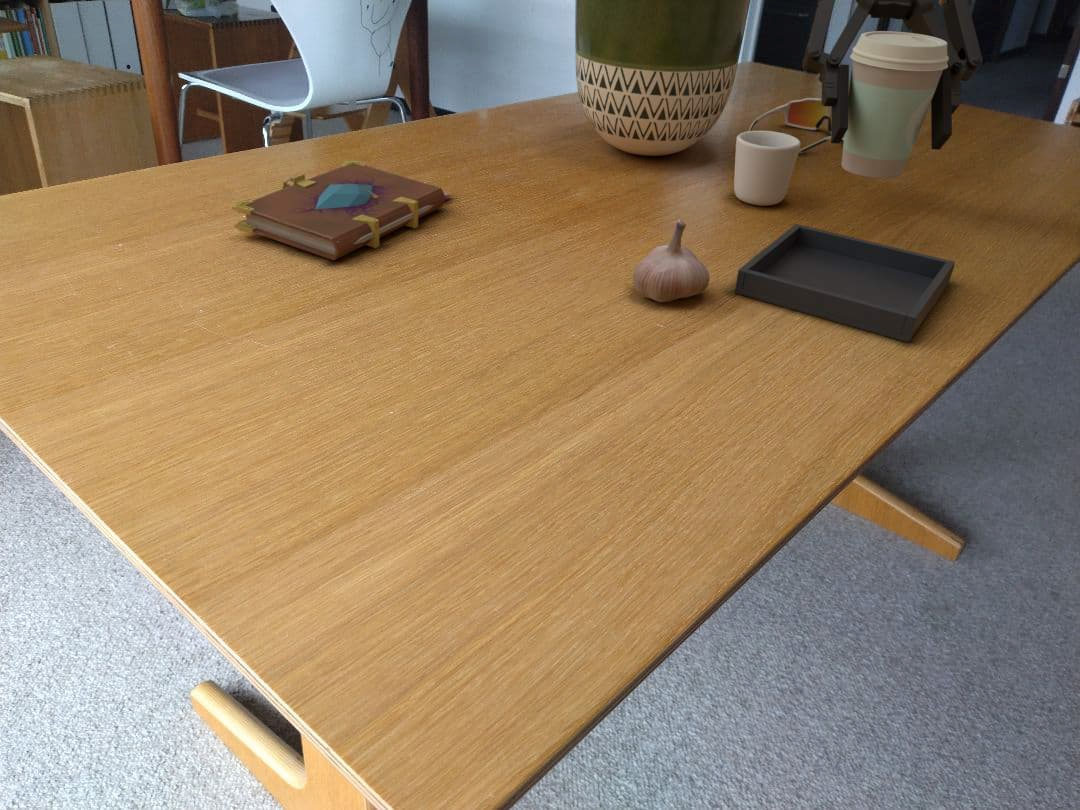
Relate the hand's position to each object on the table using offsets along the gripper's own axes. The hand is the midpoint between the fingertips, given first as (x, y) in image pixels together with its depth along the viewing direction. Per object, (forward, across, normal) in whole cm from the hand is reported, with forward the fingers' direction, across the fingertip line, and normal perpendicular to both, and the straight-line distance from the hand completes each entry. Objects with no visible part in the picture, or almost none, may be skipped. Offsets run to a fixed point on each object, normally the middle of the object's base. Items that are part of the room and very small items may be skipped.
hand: (890, 138), depth 81 cm
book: (+2, +56, -22) cm, 60 cm away
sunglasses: (-31, -5, -55) cm, 64 cm away
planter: (-23, +20, -47) cm, 56 cm away
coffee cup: (+1, 0, -5) cm, 5 cm away
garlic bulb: (+13, +18, -11) cm, 25 cm away
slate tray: (+10, 0, -14) cm, 17 cm away
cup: (-10, +5, -34) cm, 36 cm away
